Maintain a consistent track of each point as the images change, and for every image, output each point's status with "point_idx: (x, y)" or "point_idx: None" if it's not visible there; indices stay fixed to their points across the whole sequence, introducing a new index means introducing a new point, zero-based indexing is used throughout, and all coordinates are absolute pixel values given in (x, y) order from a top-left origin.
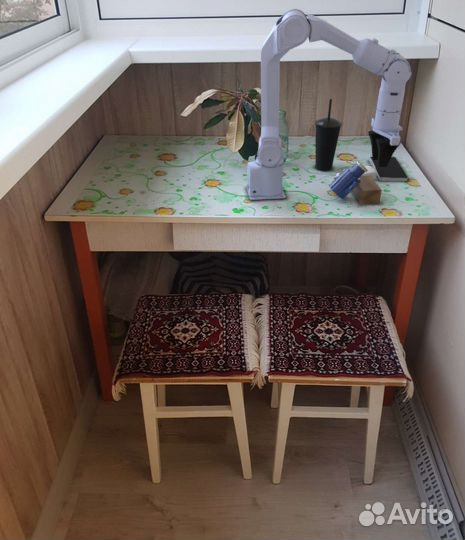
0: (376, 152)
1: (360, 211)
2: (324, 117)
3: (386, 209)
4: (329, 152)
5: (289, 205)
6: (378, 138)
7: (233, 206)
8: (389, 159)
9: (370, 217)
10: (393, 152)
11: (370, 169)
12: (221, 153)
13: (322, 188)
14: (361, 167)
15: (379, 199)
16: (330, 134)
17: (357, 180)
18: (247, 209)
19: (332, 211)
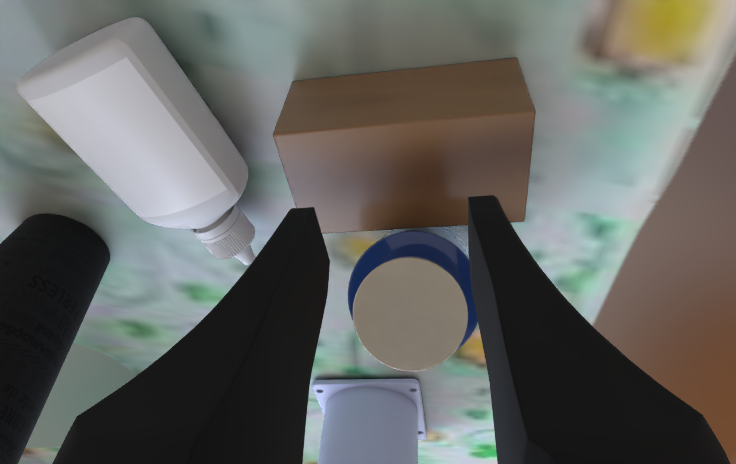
0: (313, 307)
1: (584, 174)
2: None
3: (604, 25)
4: (54, 323)
5: (470, 372)
6: (277, 459)
7: (459, 455)
8: (523, 248)
9: (672, 141)
10: (580, 315)
11: (111, 87)
12: None
13: None
14: (463, 336)
15: (521, 76)
16: (2, 442)
17: None
18: (482, 439)
19: (550, 276)
